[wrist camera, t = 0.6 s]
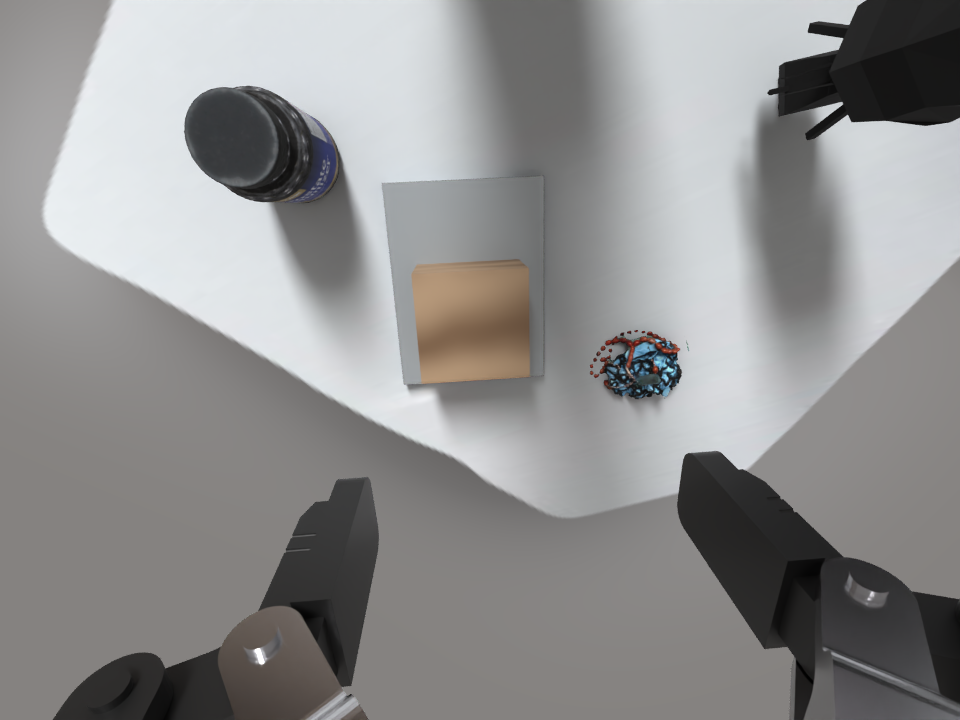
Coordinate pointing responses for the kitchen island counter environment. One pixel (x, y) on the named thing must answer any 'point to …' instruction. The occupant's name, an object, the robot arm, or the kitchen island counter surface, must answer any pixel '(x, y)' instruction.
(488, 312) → the wooden block
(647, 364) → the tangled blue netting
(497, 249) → the build plate
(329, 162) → the pill bottle
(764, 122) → the kitchen island counter surface
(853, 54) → the toy
